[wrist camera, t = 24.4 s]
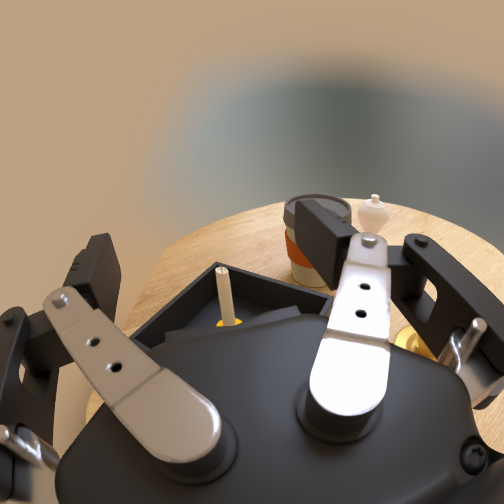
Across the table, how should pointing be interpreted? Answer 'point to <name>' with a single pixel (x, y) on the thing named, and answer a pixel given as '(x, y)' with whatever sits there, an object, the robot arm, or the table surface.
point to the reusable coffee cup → (299, 263)
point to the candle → (225, 298)
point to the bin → (244, 303)
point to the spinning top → (373, 215)
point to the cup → (413, 342)
